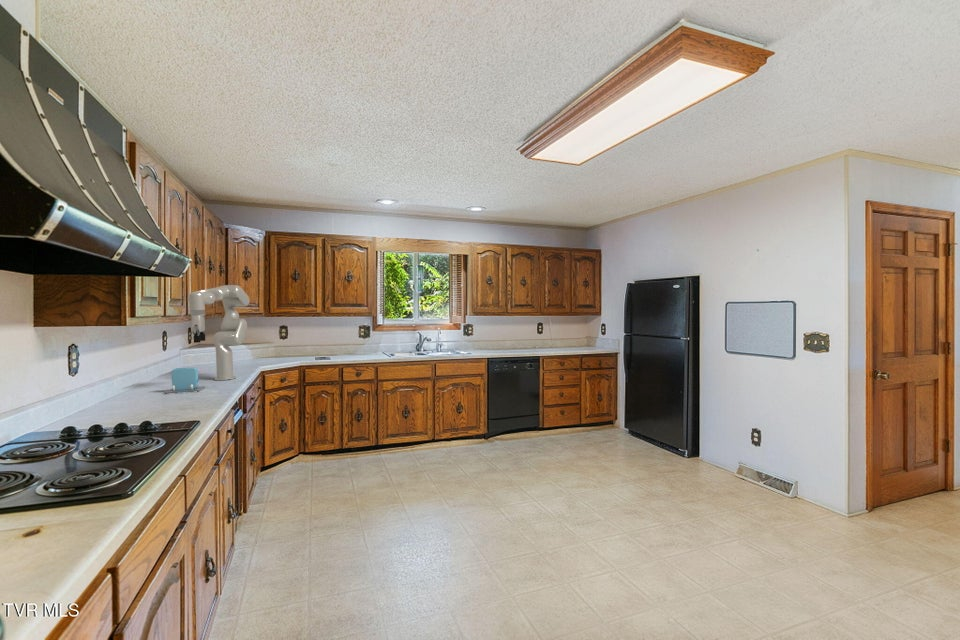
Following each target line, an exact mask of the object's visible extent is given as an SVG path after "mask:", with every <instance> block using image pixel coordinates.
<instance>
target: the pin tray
mask: <svg viewBox="0 0 960 640" xmlns="http://www.w3.org/2000/svg"><path fill="white" fill-rule="evenodd" d="M171 387H172V388H170V389H168V390H166V391H163V393H175V394H178V393H177V392H190V393H195V392H194V391H199V392H201V391H203V390H204V389H203V388H205V387H206V388H207V386H206V385H202V386H201V385H200V386H199V385H198V387H197V388H195V389H193V384H191V385H190V388H191V389H187V390H175V385H174V386H172V385H171ZM206 388H205V389H206ZM202 389H203V390H202ZM200 390H201V391H200Z"/></svg>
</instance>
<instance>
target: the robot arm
mask: <svg viewBox="0 0 960 640" xmlns="http://www.w3.org/2000/svg"><path fill="white" fill-rule="evenodd" d="M187 300H188V302H189V310H190V316H191V320H190V322H191V323H190V327H191V328H190V329H191V333H192V334H193V335H192V337H193V343H194V344H197V343H201V342H204V341H206V332H205V331H206V324H205V322H206V321H205V316H206V306H205V305H212V304H213V303H215V302H219V301H222V305H223V309H224V313H225V314H224V316H223V318H222V322H221V325H220V329H221V331H218V332H215V334H214V335H213V343H214V348H215V363H216V377H214V381H229V380H228V379H231V380H235V379H236V378H237V376H236V375H234V361H233V359H234V358H233V357H234V356H233V350H232V349H231V348H230V346H231V347H232V346H234V347H236V346H237V347H238V346H240V345H242V344H243V342H244V339H245V336H246V333H247V331H248V322H247V321H246V319H245V318H242V317H241V318H240V314H239V312H238V310H237V309H236V308H242V307H243V308H245V307H247V306H248V305H250V297H249V295H248V294H247V293H246V291H245V290H244V289H243V288H242V287H241V286H240V285H238V284H225V285H220V286H217V287H212V288H206V289H202V290H201V289H200V290H196V291H192V292H190V293H189V294H188V297H187ZM234 378H235V379H234Z"/></svg>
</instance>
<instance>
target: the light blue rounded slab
mask: <svg viewBox="0 0 960 640" xmlns="http://www.w3.org/2000/svg"><path fill="white" fill-rule="evenodd" d="M191 384H193V389H195V388H197V387H199V370H198V368H197V367H196V366H194V367H193V366H191V367H177V368H174V369H172V370H171V387H172V386H174V385H175V390H187V389H191V388H190V385H191Z"/></svg>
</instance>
